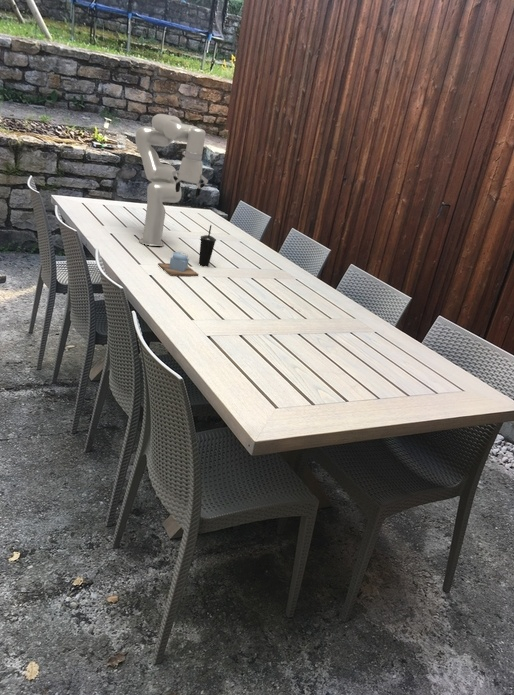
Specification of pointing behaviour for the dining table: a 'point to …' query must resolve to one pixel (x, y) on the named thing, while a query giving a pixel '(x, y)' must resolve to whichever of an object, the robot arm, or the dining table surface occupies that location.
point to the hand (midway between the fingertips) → (187, 194)
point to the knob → (179, 261)
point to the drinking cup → (206, 249)
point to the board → (177, 273)
